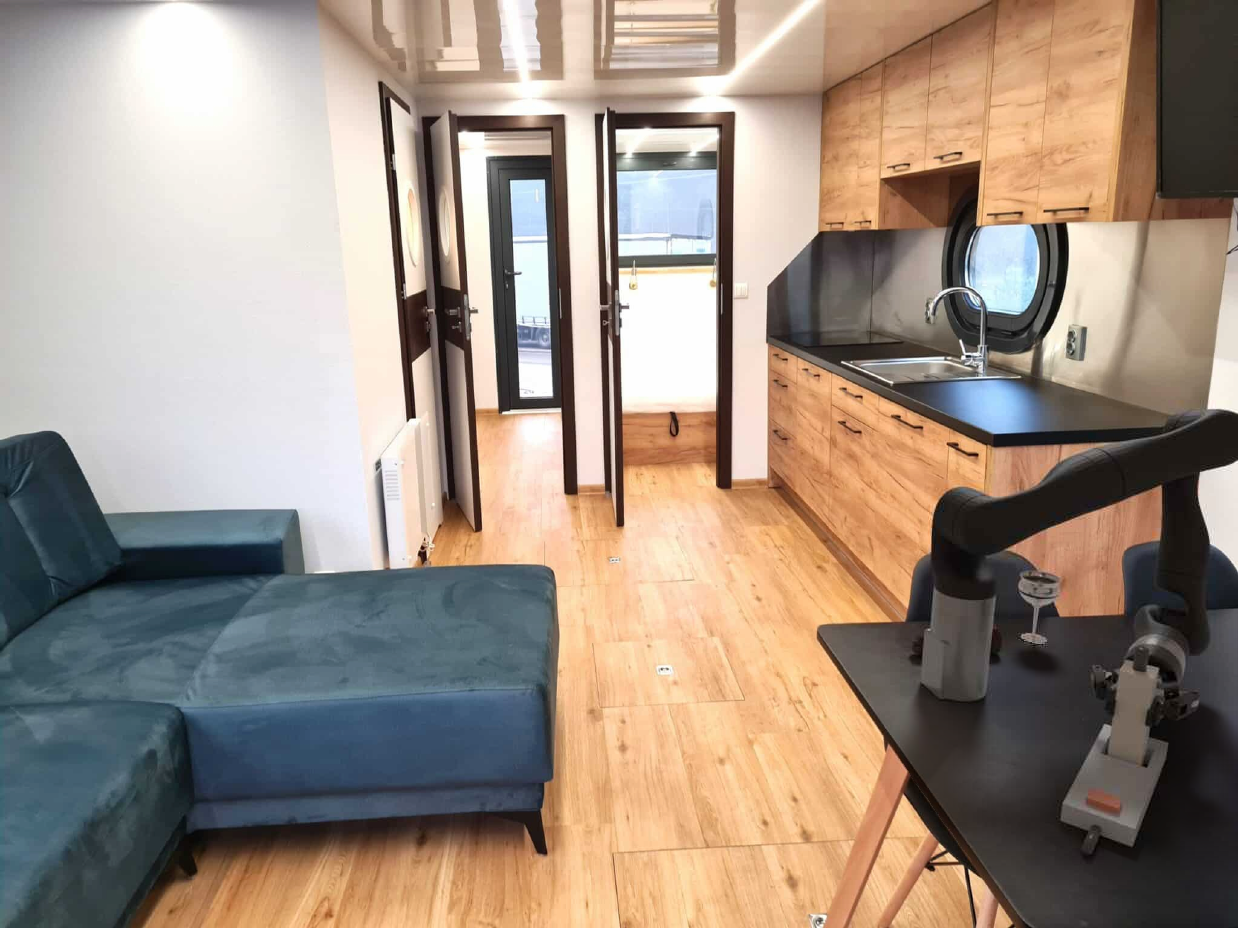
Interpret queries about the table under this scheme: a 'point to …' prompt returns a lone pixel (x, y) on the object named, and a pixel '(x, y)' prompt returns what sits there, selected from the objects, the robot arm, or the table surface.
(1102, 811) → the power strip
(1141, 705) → the plug
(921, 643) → the bolt
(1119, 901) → the table surface
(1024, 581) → the wineglass
